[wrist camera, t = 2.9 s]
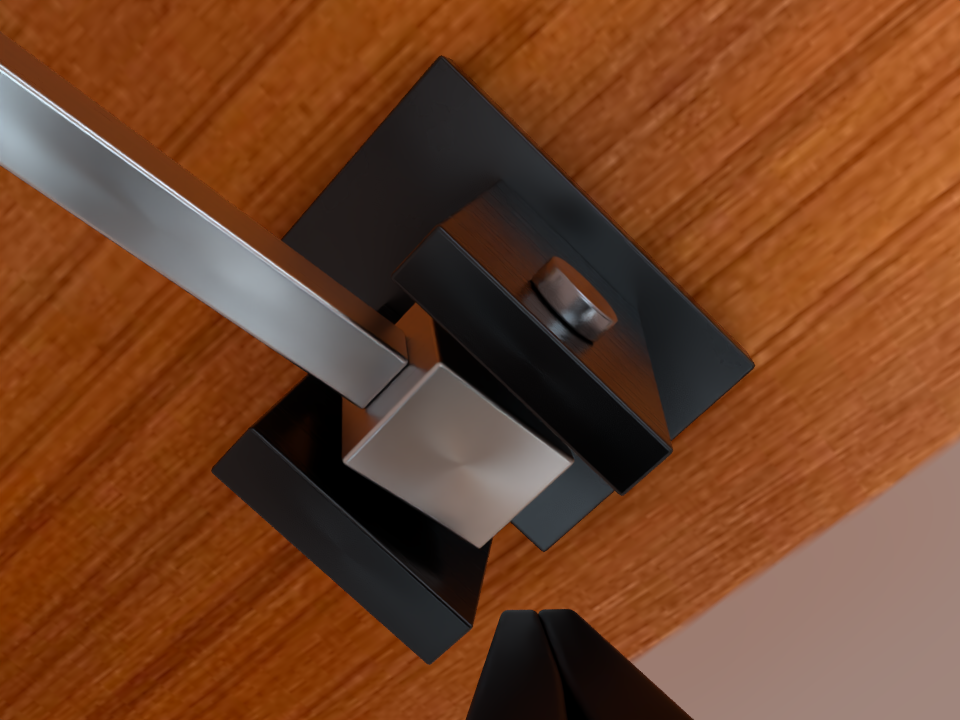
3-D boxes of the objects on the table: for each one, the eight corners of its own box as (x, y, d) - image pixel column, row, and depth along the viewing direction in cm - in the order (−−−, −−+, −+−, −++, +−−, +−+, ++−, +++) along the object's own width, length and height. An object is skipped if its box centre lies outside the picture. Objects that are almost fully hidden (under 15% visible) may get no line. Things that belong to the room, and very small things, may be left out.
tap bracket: (263, 270, 22) (21, 386, 13) (448, 56, 20) (326, 5, 11) (546, 532, 23) (516, 820, 14) (748, 352, 21) (876, 544, 12)
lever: (-241, 139, 12) (-367, 198, 10) (-5, -253, 10) (-98, -285, 8) (393, 528, 16) (400, 624, 14) (624, 306, 15) (671, 378, 13)
